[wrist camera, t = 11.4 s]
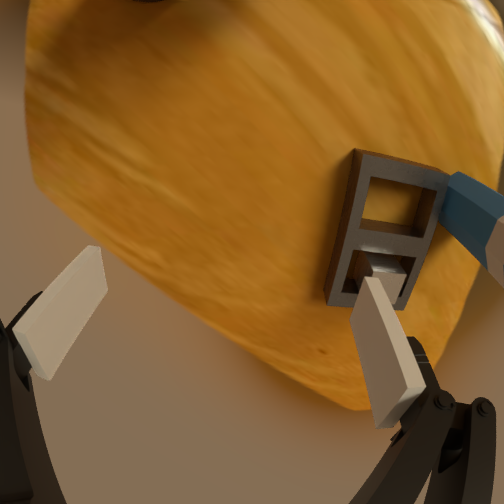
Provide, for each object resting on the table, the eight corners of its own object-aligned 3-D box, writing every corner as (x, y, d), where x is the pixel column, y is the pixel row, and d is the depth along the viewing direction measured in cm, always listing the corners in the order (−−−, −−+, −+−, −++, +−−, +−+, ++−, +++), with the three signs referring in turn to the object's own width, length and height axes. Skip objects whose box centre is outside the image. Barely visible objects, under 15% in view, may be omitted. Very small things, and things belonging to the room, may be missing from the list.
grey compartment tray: (354, 148, 36) (363, 153, 32) (436, 167, 35) (450, 175, 32) (323, 289, 46) (326, 305, 43) (395, 295, 46) (403, 310, 43)
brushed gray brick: (360, 245, 42) (373, 271, 36) (390, 249, 42) (406, 274, 36) (352, 274, 45) (363, 302, 39) (381, 277, 45) (394, 304, 39)
